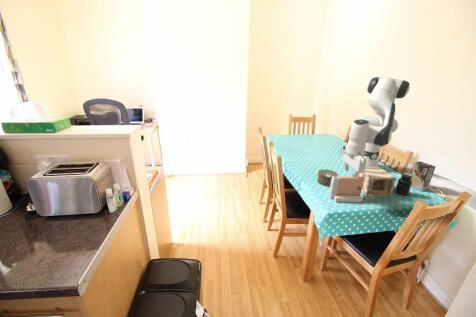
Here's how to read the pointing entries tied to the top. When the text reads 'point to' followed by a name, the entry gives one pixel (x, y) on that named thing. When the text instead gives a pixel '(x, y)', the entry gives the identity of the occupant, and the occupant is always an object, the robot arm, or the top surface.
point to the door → (345, 186)
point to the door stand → (347, 198)
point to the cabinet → (376, 182)
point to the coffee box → (422, 175)
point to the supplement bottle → (403, 185)
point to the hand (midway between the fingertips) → (350, 173)
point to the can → (325, 177)
